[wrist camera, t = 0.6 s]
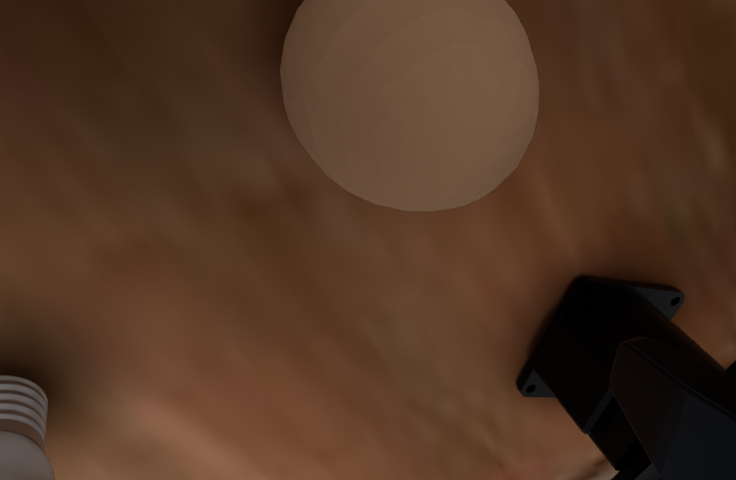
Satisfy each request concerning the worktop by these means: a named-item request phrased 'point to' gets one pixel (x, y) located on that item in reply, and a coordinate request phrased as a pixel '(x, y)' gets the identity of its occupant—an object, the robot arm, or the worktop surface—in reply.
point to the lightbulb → (23, 430)
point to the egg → (411, 97)
